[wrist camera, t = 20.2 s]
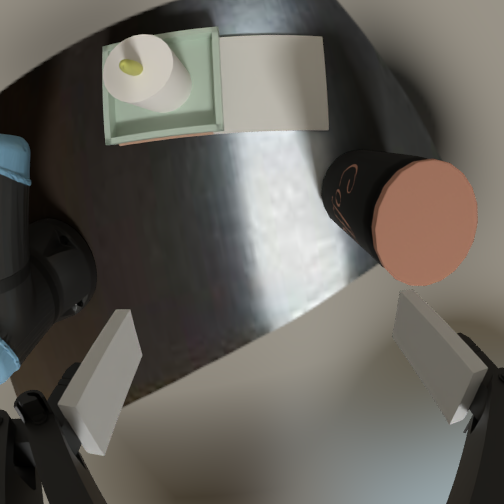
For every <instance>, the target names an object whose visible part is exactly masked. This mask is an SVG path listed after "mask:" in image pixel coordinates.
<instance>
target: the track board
mask: <svg viewBox="0 0 504 504" xmlns="http://www.w3.org/2000/svg"><path fill="white" fill-rule="evenodd" d="M220 58H221V78H222V97H223V115H224V131H219V132H207V133H196V134H187V135H178V136H169V137H161V138H154V139H147V140H140V141H134V142H127V143H121V144H119V145H120V146H124V145H130V144H136V143H143V142H150V141H157V140H165V139H173V138H182V137H191V136H201V135H212V134H225V133H240V132H259V131H291V130H329V119H328V101H327V85H326V72H325V60H324V49H323V39H322V37H320V36H299V35H252V36H232V37H220Z"/></svg>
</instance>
